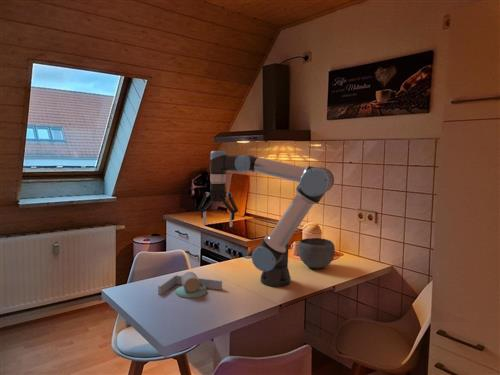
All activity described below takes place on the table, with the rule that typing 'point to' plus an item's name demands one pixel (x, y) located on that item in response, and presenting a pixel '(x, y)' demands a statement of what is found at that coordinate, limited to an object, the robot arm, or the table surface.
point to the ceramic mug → (191, 282)
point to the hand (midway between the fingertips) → (217, 225)
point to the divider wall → (204, 282)
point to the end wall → (166, 285)
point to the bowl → (316, 252)
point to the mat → (185, 294)
